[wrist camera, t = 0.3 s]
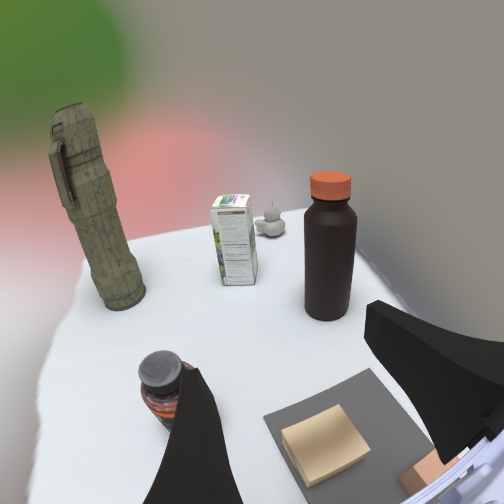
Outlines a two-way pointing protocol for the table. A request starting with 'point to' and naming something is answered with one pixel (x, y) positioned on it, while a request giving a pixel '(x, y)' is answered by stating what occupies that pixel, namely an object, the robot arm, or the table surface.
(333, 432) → the oak block
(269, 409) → the table surface
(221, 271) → the syrup box
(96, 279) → the thermos
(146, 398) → the supplement bottle
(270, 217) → the rubber duck
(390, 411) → the mat
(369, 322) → the robot arm
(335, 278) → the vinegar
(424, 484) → the terracotta block
